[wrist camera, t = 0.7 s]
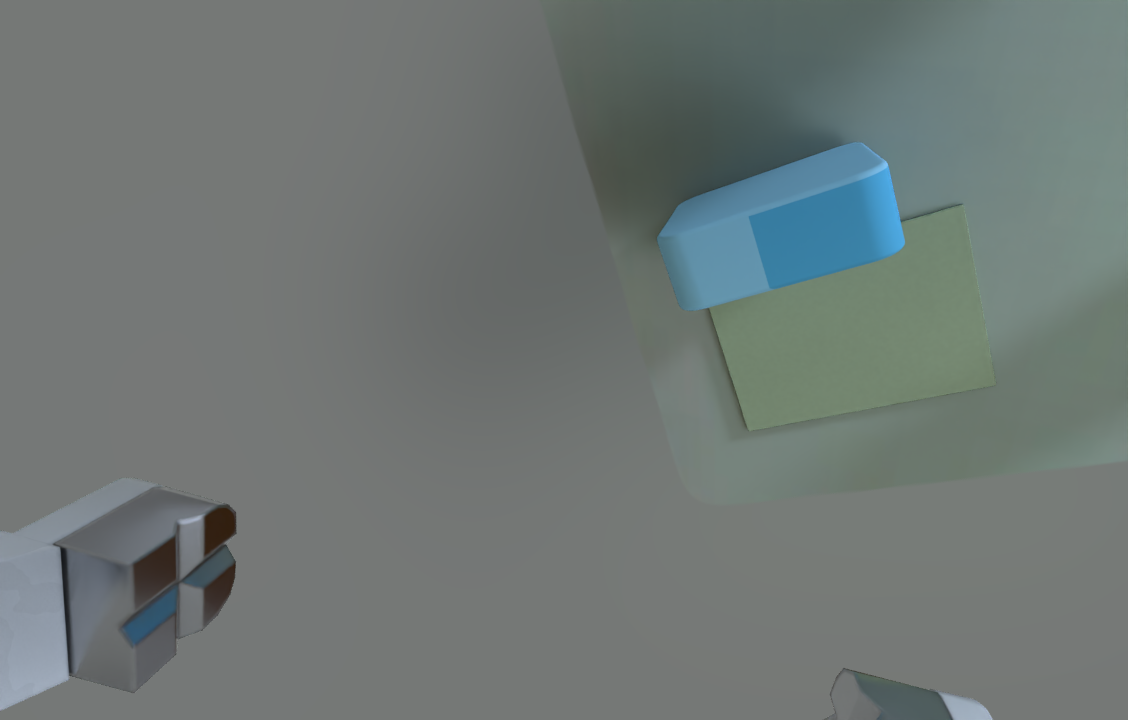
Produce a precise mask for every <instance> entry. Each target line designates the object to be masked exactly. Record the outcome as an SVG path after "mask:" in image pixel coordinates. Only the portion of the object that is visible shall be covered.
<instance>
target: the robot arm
mask: <svg viewBox="0 0 1128 720" xmlns="http://www.w3.org/2000/svg"><path fill="white" fill-rule="evenodd" d="M235 534H236V512H235V511H234V510H233V509H232V508H231V507H230V506H229V505H228V504H225V503H222V502H218V501H214V500H212V499H208V498H205V497H201V496H198V495H194V494H191V493H187V492H184V491H180V490H177V489H174V488H170V487H167V486H165V487H164V486H161V485H159V484H155V483H151V482H148V481H144V480H140V479H137V478H120V479H118V480H116V481H114V482H112V483H111V484H108V485H106V486H104V487H102V488H100V489H98V490H97V491H95V492H93V493H91V494H89V495H87V496H85V497H83V498H81V499H79V500H77V501H75V502H73V503H71V504H69V505H67V506H65V507H63V508H61V509H59V510H57V511H55V512H53V513H51V514H49V515H47V516H46V517H43V518H42V519H39V520H38V521H36V522H34V523H32V524H30V525H28V526H26V527H24V528H22V529H20V530H18V531H16V532H14V533H8V532H5V531H0V711H1V710H3V709H6V708H8V707H10V706H12V705H14V704H17V703H19V702H21V701H23V700H26V699H28V698H30V697H32V696H34V695H37V694H39V693H41V692H43V691H45V690H48V689H50V688H52V687H54V686H56V685H59V684H61V683H63V682H65V681H67V680H69V676H72V677H76V678H80V679H83V680H87V681H91V682H94V683H98V684H101V685H105V686H109V687H112V688H116V689H120V690H123V691H127V692H131V693H135V692H136V691H137V690H138V689H139V688H140V687H141V686H142V685H143V684H144V683H146V682H147V681H148V680H149V679H150V678H151V677H152V676H153V675H154V674H155V673H156V672H158V671H159V670H160V669H161V668H162V667H163V666H164V665H165V664H166V663H167V662H168V661H170V660H171V659H172V658H173V657H174V656H175V655H176V652H177V645H178V639H180V638H183V637H185V636H188V635H191V634H194V633H197V632H199V631H202V630H203V629H204V628H205V627H206V626H207V625H208V624H209V623H210V622H211V621H212V620H213V619H215V618H216V616H218V614H219V612H220V611H221V609H222V607H223V606H224V604H225V603H226V601H227V599H228V597H229V596H230V594H231V590H232V587H233V583H234V579H235V568H236V561H235V559H234V558H233V556H232V554H231V552H230V551H229V549H228V547H227V545H226V544H227V543H228V542H229V541H230V540H231V539H232V538H233V536H234V535H235ZM830 696H831V700H832V703H833V707H834V710H835V713H834V714H833V715H831V716H829V717H828V718H826V719H824V720H993V719H992V717H991V716H990V714H989V712H988V711H987V709H986V708H985V707H984V706H983V705H981V704H980V703H979V702H978V701H977V700H975V699H971V698H967V697H963V696H958V695H954V694H950V693H946V692H941V691H937V690H933V689H930V690H927V689H923V688H919V687H915V686H911V685H907V684H903V683H900V682H896V681H892V680H888V679H884V678H880V677H876V676H872V675H868V674H865V673H861V672H857V671H853V670H849V669H845V668H843V670H842V671H841V672H840V673H839V674H838V675H837V677H836V679H835V682H834V684H833V687H832V689H831V692H830Z"/></svg>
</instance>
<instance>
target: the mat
mask: <svg viewBox="0 0 1128 720" xmlns="http://www.w3.org/2000/svg"><path fill="white" fill-rule="evenodd" d="M901 226H902V230H903V235H904V239H905V244H904V246H903V248H902V249H901V250H900V251H899V252H897V253H895V254H894V255H892V256H890V257H887V258H885V259H882V260H879V261H876V262H872V263H869V264H865V265H862V266H858V267H854V268H851V269H847V270H843V271H840V272H836V273H833V274H829V275H825V276H822V277H818V278H814V279H811V280H807V281H803V282H800V283H796V284H793V285H789V286H785V287H782V288H778V289H774V290H771V291H767V292H764V293H760V294H756V295H753V296H749V297H745V298H742V299H738V300H734V301H731V302H727V303H724V304H720V305H716V306H713V307H709V310H710V313H711V316H712V319H713V323H714V326H715V329H716V332H717V335H718V338H719V341H720V344H721V347H722V351H723V354H724V357H725V360H726V363H727V366H728V369H729V372H730V375H731V379H732V382H733V385H734V388H735V391H736V394H737V397H738V400H739V403H740V407H741V410H742V413H743V416H744V419H745V422H746V425H747V428H748V431H753V430H759V429H764V428H770V427H775V426H780V425H786V424H791V423H797V422H802V421H807V420H813V419H818V418H823V417H829V416H834V415H840V414H845V413H850V412H856V411H861V410H867V409H872V408H877V407H883V406H888V405H894V404H899V403H904V402H910V401H915V400H921V399H926V398H931V397H937V396H942V395H948V394H953V393H958V392H964V391H969V390H974V389H980V388H985V387H991V386H996V381H995V375H994V370H993V364H992V359H991V353H990V348H989V342H988V337H987V331H986V326H985V320H984V315H983V309H982V303H981V298H980V292H979V287H978V281H977V276H976V270H975V265H974V259H973V254H972V248H971V243H970V237H969V232H968V226H967V220H966V215H965V209H964V205H963V204H961V205H958V206H954V207H951V208H947V209H944V210H940V211H937V212H933V213H930V214H926V215H923V216H920V217H916V218H913V219H909V220H906V221H902V222H901Z"/></svg>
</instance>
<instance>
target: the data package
mask: <svg viewBox="0 0 1128 720" xmlns="http://www.w3.org/2000/svg"><path fill="white" fill-rule="evenodd" d="M657 242H658V245H659V248H660V251H661V254H662V257H663V260H664V263H665V265H666V268H667V271H668V274H669V277H670V280H671V283H672V286H673V289H674V292H675V295H676V298H677V300H678V303H679V306H680V307H681V308H682V309H683V310H687V311H694V310H701V309H705V308H709V307H713V306H716V305H720V304H724V303H727V302H731V301H734V300H738V299H742V298H745V297H749V296H753V295H756V294H760V293H764V292H767V291H771V290H774V289H778V288H782V287H785V286H789V285H793V284H796V283H800V282H803V281H807V280H811V279H814V278H818V277H822V276H825V275H829V274H833V273H836V272H840V271H843V270H847V269H851V268H854V267H858V266H862V265H865V264H869V263H872V262H876V261H879V260H882V259H885V258H887V257H890V256H892V255H894V254H895V253H897V252H899V251H900V250H901V249H902V248H903V246H904V244H905V239H904V235H903V230H902V226H901V221H900V217H899V212H898V208H897V203H896V199H895V194H894V190H893V185H892V181H891V176H890V172H889V167H888V164H887V162H886V161H884V160H883V159H882V158H881V157H879V156H878V155H877V154H876V153H874V152H873V151H872V150H870V149H869V148H868V147H867V146H865V145H864V144H863V143H861V142H855V143H850V144H846V145H842V146H839V147H836V148H833V149H830V150H827V151H824V152H821V153H818V154H816V155H813V156H810V157H807V158H804V159H801V160H798V161H796V162H793V163H790V164H787V165H784V166H781V167H778V168H776V169H773V170H770V171H767V172H764V173H761V174H758V175H755V176H753V177H750V178H747V179H744V180H741V181H738V182H735V183H733V184H730V185H727V186H724V187H721V188H718V189H715V190H713V191H710V192H707V193H704V194H701V195H698V196H696V197H693V198H691V199H689V200H686V201H684V202H683V203H681V204H679V205H678V206H677V208H676V209H675V211H674V212H673V214H672V215H671V217H670V218H669V220H668V221H667V223H666V224H665V226H664V228H663V229H662V231H661V232H660V234H659V235H658V237H657Z"/></svg>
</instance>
